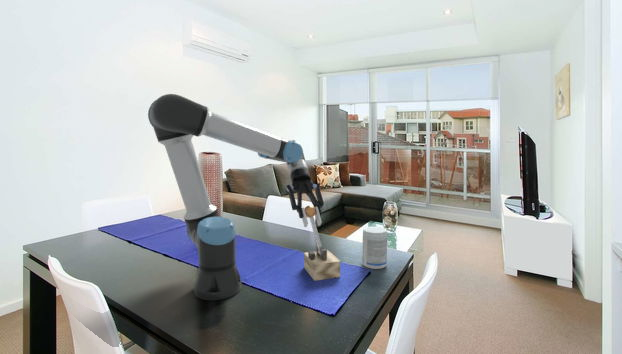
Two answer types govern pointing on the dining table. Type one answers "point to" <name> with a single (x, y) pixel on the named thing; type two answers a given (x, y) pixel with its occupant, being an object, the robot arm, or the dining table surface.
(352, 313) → the dining table surface
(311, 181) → the robot arm
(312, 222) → the press lever
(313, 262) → the block with knobs
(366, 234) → the supplement tub
